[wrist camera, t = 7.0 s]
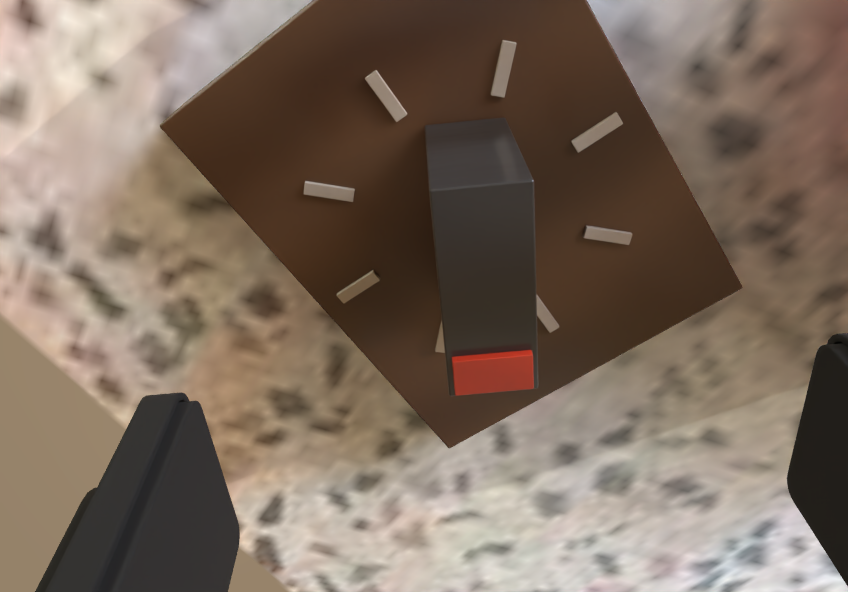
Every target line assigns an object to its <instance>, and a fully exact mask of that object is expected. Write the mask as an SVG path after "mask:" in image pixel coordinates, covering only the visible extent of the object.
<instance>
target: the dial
mask: <svg viewBox="0 0 848 592" xmlns="http://www.w3.org/2000/svg"><path fill="white" fill-rule="evenodd" d="M424 128H425V141H426V155H427V169H428V183H429V195H430V206H431V216H432V226H433V236H434V247H435V257H436V267H437V277H438V288H439V298H440V308H441V319H442V329H443V339H444V349H445V360H446V370H447V380H448V390H449V395H450V396H460V395H471V394H482V393H494V392H505V391H516V390H528V389H537V388H538V344H537V295H536V247H535V198H534V180H533V178H532V176H531V173H530V171H529V169H528V167H527V165H526V162H525V160H524V158H523V156H522V154H521V151H520V149H519V147H518V145H517V143H516V141H515V138H514V136H513V134H512V132H511V130H510V127H509V125H508V123H507V121H506V119H505V118H504V117H503V118H493V119H483V120H473V121H463V122H453V123H443V124H433V125H426V126H425V127H424Z"/></svg>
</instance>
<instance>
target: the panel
mask: <svg viewBox="0 0 848 592" xmlns="http://www.w3.org/2000/svg"><path fill="white" fill-rule="evenodd" d="M503 117H504V118H505V119H506V121H507V123H508V125H509V127H510V130H511V132H512V134H513V136H514V138H515V141H516V143H517V145H518V147H519V149H520V151H521V154H522V156H523V158H524V160H525V162H526V165H527V167H528V169H529V171H530V173H531V176H532V178H533V180H534V198H535V247H536V295H537V344H538V388H537V389H528V390H516V391H505V392H494V393H482V394H471V395H460V396H450V395H449V390H448V380H447V370H446V360H445V349H444V339H443V329H442V319H441V308H440V298H439V288H438V277H437V267H436V257H435V247H434V236H433V226H432V216H431V206H430V195H429V183H428V169H427V155H426V141H425V128H424V127H425V126H426V125H433V124H443V123H453V122H463V121H473V120H483V119H493V118H503ZM160 127H161V129H162V130H163V131H164V132H165V133H166V134H167V135H168V136H169V137H170V139H171V140H172V141H173V142H174V143H175V144H176V145H177V146H178V147H179V149H180V150H181V151H182V152H183V153H184V154H185V155H186V156H187V157H188V159H189V160H190V161H191V162H192V163H193V164H194V165H195V166H196V167H197V169H198V170H199V171H200V172H201V173H202V174H203V175H204V176H205V177H206V179H207V180H208V181H209V182H210V183H211V184H212V185H213V186H214V187H215V189H216V190H217V191H218V192H219V193H220V194H221V195H222V196H223V197H224V199H225V200H226V201H227V202H228V203H229V204H230V205H231V206H232V208H233V209H234V210H235V211H236V212H237V213H238V214H239V215H240V216H241V218H242V219H243V220H244V221H245V222H246V223H247V224H248V225H249V226H250V228H251V229H252V230H253V231H254V232H255V233H256V234H257V235H258V236H259V238H260V239H261V240H262V241H263V242H264V243H265V244H266V245H267V246H268V248H269V249H270V250H271V251H272V252H273V253H274V254H275V255H276V256H277V258H278V259H279V260H280V261H281V262H282V263H283V264H284V265H285V266H286V268H287V269H288V270H289V271H290V272H291V273H292V274H293V275H294V276H295V278H296V279H297V280H298V281H299V282H300V283H301V284H302V285H303V286H304V288H305V289H306V290H307V291H308V292H309V293H310V294H311V295H312V297H313V298H314V299H315V300H316V301H317V302H318V303H319V304H320V305H321V307H322V308H323V309H324V310H325V311H326V312H327V313H328V314H329V315H330V317H331V318H332V319H333V320H334V321H335V322H336V323H337V324H338V325H339V327H340V328H341V329H342V330H343V331H344V332H345V333H346V334H347V335H348V337H349V338H350V339H351V340H352V341H353V342H354V343H355V344H356V345H357V347H358V348H359V349H360V350H361V351H362V352H363V353H364V354H365V355H366V357H367V358H368V359H369V360H370V361H371V362H372V363H373V364H374V365H375V367H376V368H377V369H378V370H379V371H380V372H381V373H382V374H383V375H384V377H385V378H386V379H387V380H388V381H389V382H390V383H391V384H392V386H393V387H394V388H395V389H396V390H397V391H398V392H399V393H400V394H401V396H402V397H403V398H404V399H405V400H406V401H407V402H408V403H409V404H410V406H411V407H412V408H413V409H414V410H415V411H416V412H417V413H418V414H419V416H420V417H421V418H422V419H423V420H424V421H425V422H426V423H427V424H428V426H429V427H430V428H431V429H432V430H433V431H434V432H435V433H436V434H437V436H438V437H439V438H440V439H441V440H442V441H443V442H444V443H445V444H446V446H447V447H448V448H451V447H453V446H455V445H456V444H458V443H460V442H462V441H464V440H466V439H467V438H469V437H471V436H473V435H475V434H477V433H478V432H480V431H482V430H484V429H486V428H488V427H489V426H491V425H493V424H495V423H497V422H498V421H500V420H502V419H504V418H506V417H508V416H509V415H511V414H513V413H515V412H517V411H519V410H520V409H522V408H524V407H526V406H528V405H530V404H531V403H533V402H535V401H537V400H539V399H541V398H542V397H544V396H546V395H548V394H550V393H552V392H553V391H555V390H557V389H559V388H561V387H562V386H564V385H566V384H568V383H570V382H572V381H573V380H575V379H577V378H579V377H581V376H583V375H584V374H586V373H588V372H590V371H592V370H594V369H595V368H597V367H599V366H601V365H603V364H605V363H606V362H608V361H610V360H612V359H614V358H616V357H617V356H619V355H621V354H623V353H625V352H626V351H628V350H630V349H632V348H634V347H636V346H637V345H639V344H641V343H643V342H645V341H647V340H648V339H650V338H652V337H654V336H656V335H658V334H659V333H661V332H663V331H665V330H667V329H669V328H670V327H672V326H674V325H676V324H678V323H680V322H681V321H683V320H685V319H687V318H689V317H690V316H692V315H694V314H696V313H698V312H700V311H701V310H703V309H705V308H707V307H709V306H711V305H712V304H714V303H716V302H718V301H720V300H722V299H723V298H725V297H727V296H729V295H731V294H733V293H734V292H736V291H738V290H740V289H742V285H741V283H740V281H739V279H738V277H737V276H736V274H735V272H734V270H733V268H732V266H731V265H730V263H729V261H728V259H727V257H726V255H725V254H724V252H723V250H722V248H721V246H720V244H719V243H718V241H717V239H716V237H715V235H714V233H713V232H712V230H711V228H710V226H709V224H708V222H707V221H706V219H705V217H704V215H703V213H702V211H701V210H700V208H699V206H698V204H697V202H696V200H695V199H694V197H693V195H692V193H691V191H690V189H689V188H688V186H687V184H686V182H685V180H684V178H683V177H682V175H681V173H680V171H679V169H678V167H677V166H676V164H675V162H674V160H673V158H672V156H671V155H670V153H669V151H668V149H667V147H666V145H665V144H664V142H663V140H662V138H661V136H660V134H659V133H658V131H657V129H656V127H655V125H654V123H653V122H652V120H651V118H650V116H649V114H648V112H647V110H646V109H645V107H644V105H643V103H642V101H641V99H640V98H639V96H638V94H637V92H636V90H635V88H634V87H633V85H632V83H631V81H630V79H629V77H628V76H627V74H626V72H625V70H624V68H623V66H622V65H621V63H620V61H619V59H618V57H617V55H616V54H615V52H614V50H613V48H612V46H611V44H610V43H609V41H608V39H607V37H606V35H605V33H604V32H603V30H602V28H601V26H600V24H599V22H598V21H597V19H596V17H595V15H594V13H593V11H592V10H591V8H590V6H589V4H588V2H587V0H313V1H312V2H310V3H309V4H308V5H307V6H305V7H304V8H303V9H302V10H300V11H299V12H298V13H297V14H295V15H294V16H293V17H292V18H290V19H289V20H288V21H287V22H285V23H284V24H283V25H282V26H280V27H279V28H278V29H277V30H275V31H274V32H273V33H272V34H270V35H269V36H268V37H267V38H265V39H264V40H263V41H262V42H260V43H259V44H258V45H257V46H255V47H254V48H253V49H252V50H250V51H249V52H248V53H247V54H245V55H244V56H243V57H242V58H240V59H239V60H238V61H237V62H235V63H234V64H233V65H232V66H230V67H229V68H228V69H227V70H225V71H224V72H223V73H222V74H220V75H219V76H218V77H217V78H215V79H214V80H213V81H212V82H210V83H209V84H208V85H207V86H205V87H204V88H203V89H202V90H200V91H199V92H198V93H197V94H195V95H194V96H193V97H192V98H190V99H189V100H188V101H187V102H185V103H184V104H183V105H182V106H181V107H180V108H178V109H177V110H176V111H175V112H174V113H173V114H172V115H170V116H169V117H168V118H167V119H166V120H165V121H164V122H163V123H161V124H160Z"/></svg>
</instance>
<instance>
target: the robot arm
mask: <svg viewBox="0 0 848 592" xmlns="http://www.w3.org/2000/svg"><path fill="white" fill-rule="evenodd" d="M787 484H788V489H789V493H790V495H791V498H792V500H793V501H794V503H795V505H796V506H797V508H798V509H799V511H800V512H801V514H802V515H803V517H804V519H805V520H806V522H807V523H808V525H809V526H810V528H811V530H812V531H813V533H814V534H815V536H816V537H817V539H818V540H819V542H820V544H821V545H822V547H823V548H824V550H825V551H826V553H827V555H828V556H829V558H830V559H831V561H832V562H833V564H834V566H835V567H836V569H837V570H838V572H839V573H840V575H841V576H842V578H843V580H844V581H845V583H846V584H847V586H848V333H843V334H836V335H833V336H832V337H831V338H830V339H829V340H828V343H827V345H822V346H820V348H819V349H818V351H817V353H816V357H815V361H814V365H813V370H812V374H811V378H810V382H809V386H808V391H807V395H806V399H805V403H804V407H803V412H802V416H801V420H800V424H799V428H798V433H797V437H796V441H795V445H794V449H793V454H792V458H791V462H790V466H789V470H788V475H787ZM239 538H240V536H239V524H238V520H237V517H236V514H235V511H234V508H233V505H232V501H231V498H230V495H229V492H228V489H227V486H226V482H225V479H224V476H223V473H222V470H221V467H220V464H219V460H218V457H217V454H216V451H215V448H214V445H213V441H212V438H211V435H210V432H209V429H208V426H207V423H206V419H205V416H204V413H203V410H202V407H201V405H200V403H199V402H198V401H189V399H188V397H187V396H186V395H185V394H184V393H171V394H160V395H149V396H145V397H143V398H142V400H141V401H140V403H139V405H138V407H137V409H136V411H135V413H134V415H133V417H132V419H131V421H130V423H129V425H128V427H127V429H126V431H125V433H124V435H123V437H122V439H121V441H120V443H119V445H118V447H117V449H116V451H115V453H114V455H113V457H112V459H111V461H110V463H109V465H108V467H107V469H106V471H105V473H104V475H103V477H102V479H101V481H100V483H99V485H98V487H97V488H94V489H92V490H91V491H89V492H88V493H87V494H86V496H85V497H84V499H83V500H82V502H81V504H80V506H79V508H78V510H77V511H76V514H75V516H74V517H73V519H72V521H71V523H70V525H69V527H68V529H67V531H66V533H65V535H64V537H63V539H62V541H61V543H60V544H59V546H58V548H57V550H56V552H55V554H54V556H53V558H52V560H51V562H50V564H49V566H48V568H47V570H46V572H45V574H44V576H43V578H42V580H41V581H40V583H39V585H38V587H37V589H36V591H35V592H228V589H229V584H230V580H231V576H232V572H233V568H234V563H235V559H236V555H237V551H238V547H239Z"/></svg>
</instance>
